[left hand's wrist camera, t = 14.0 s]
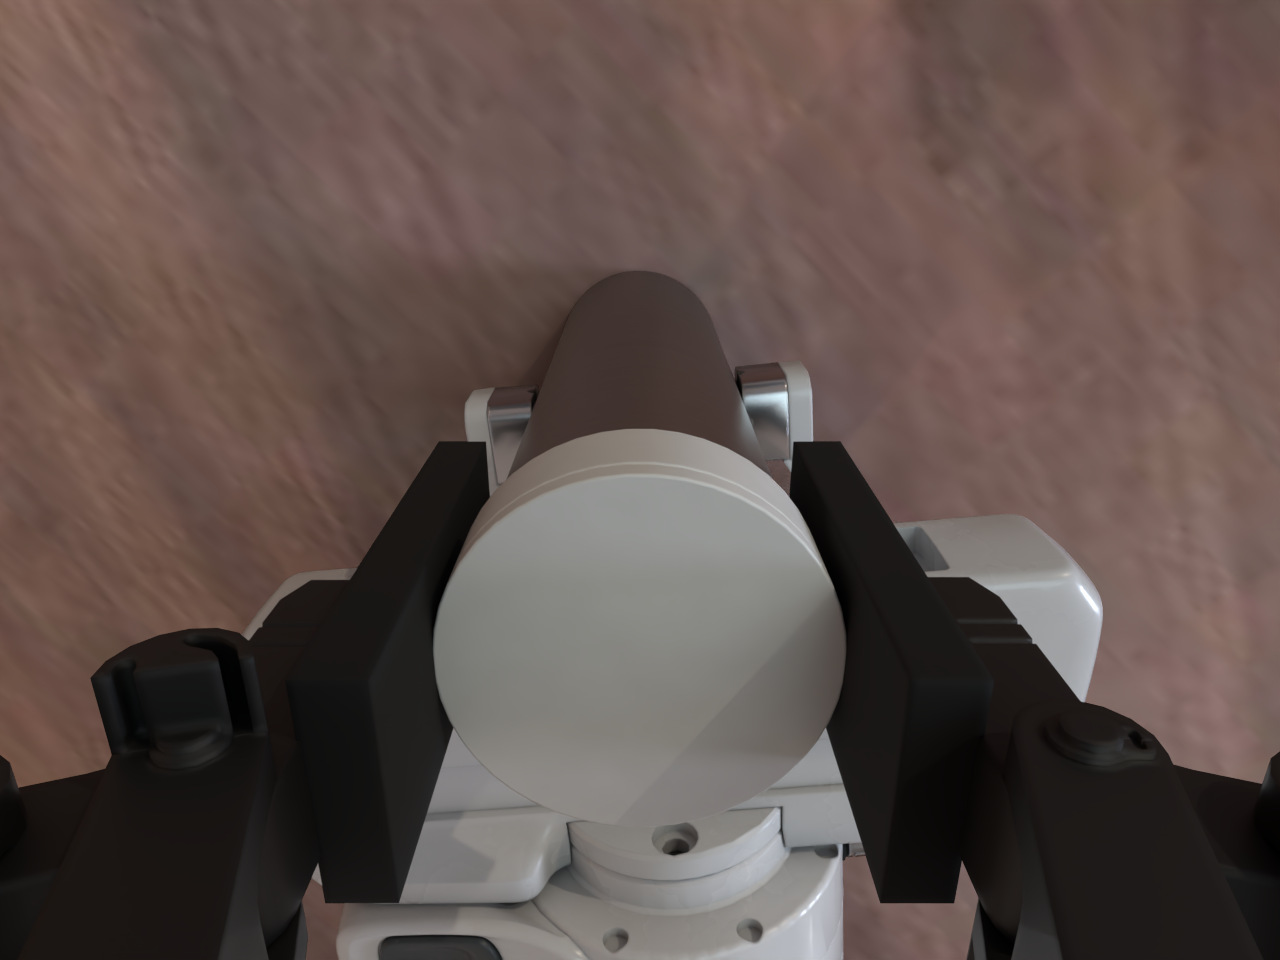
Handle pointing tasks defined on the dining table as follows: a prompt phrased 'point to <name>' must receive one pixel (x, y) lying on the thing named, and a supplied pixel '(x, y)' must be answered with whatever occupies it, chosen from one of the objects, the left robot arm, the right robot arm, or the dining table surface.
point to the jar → (639, 371)
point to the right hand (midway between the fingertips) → (633, 380)
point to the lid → (639, 631)
